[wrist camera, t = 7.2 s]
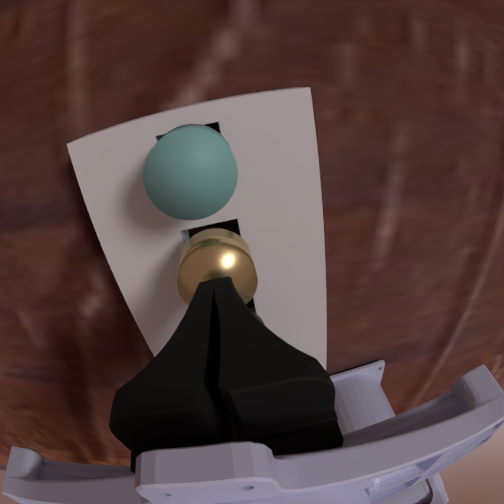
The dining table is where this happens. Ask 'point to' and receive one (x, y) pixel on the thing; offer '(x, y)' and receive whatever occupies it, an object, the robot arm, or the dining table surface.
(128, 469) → the robot arm
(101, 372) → the dining table surface
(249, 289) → the brass dome cap
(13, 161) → the dining table surface
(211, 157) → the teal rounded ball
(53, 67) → the dining table surface
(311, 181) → the console
